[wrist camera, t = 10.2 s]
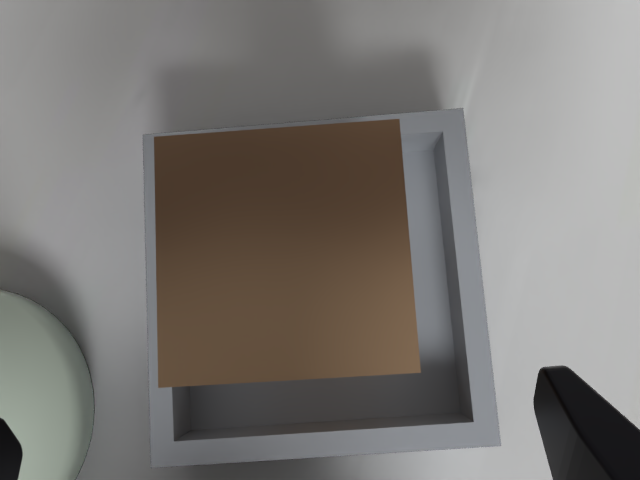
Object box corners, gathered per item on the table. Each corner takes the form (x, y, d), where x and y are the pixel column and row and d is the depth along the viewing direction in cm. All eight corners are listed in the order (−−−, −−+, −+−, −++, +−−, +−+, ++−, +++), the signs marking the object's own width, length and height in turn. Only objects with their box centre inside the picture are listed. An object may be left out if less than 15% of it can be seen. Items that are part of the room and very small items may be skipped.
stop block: (383, 350, 22) (420, 373, 11) (251, 358, 22) (158, 388, 11) (373, 219, 23) (399, 118, 12) (245, 228, 23) (154, 136, 12)
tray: (480, 430, 22) (500, 446, 19) (176, 449, 22) (150, 468, 19) (448, 135, 24) (463, 108, 21) (167, 158, 24) (142, 134, 21)
